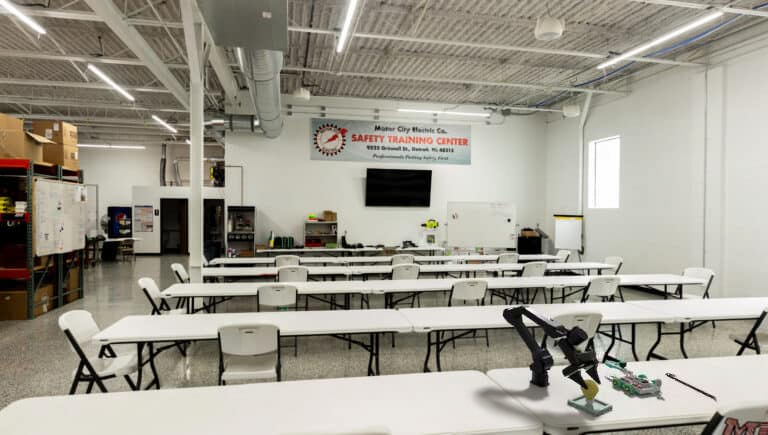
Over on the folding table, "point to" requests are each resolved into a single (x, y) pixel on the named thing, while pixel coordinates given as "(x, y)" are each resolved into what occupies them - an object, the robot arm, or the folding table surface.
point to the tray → (595, 409)
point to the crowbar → (690, 385)
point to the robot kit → (633, 380)
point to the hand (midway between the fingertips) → (593, 386)
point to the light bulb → (590, 391)
